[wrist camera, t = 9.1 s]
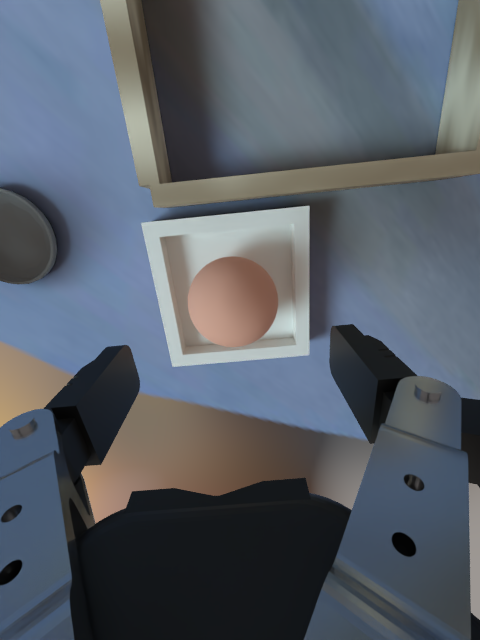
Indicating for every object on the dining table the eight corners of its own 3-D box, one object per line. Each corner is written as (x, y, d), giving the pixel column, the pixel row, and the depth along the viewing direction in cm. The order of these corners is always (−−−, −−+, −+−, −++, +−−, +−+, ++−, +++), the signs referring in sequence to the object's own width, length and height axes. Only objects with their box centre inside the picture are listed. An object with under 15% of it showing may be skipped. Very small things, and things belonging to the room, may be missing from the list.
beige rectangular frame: (102, -90, 14) (62, -181, 11) (505, -145, 13) (590, -259, 10) (159, 208, 19) (143, 208, 16) (448, 178, 19) (492, 172, 16)
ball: (188, 254, 20) (170, 271, 14) (270, 246, 20) (283, 260, 14) (201, 328, 22) (188, 368, 16) (274, 322, 22) (286, 360, 16)
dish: (151, 221, 20) (141, 222, 18) (302, 206, 19) (309, 205, 17) (178, 353, 24) (172, 366, 22) (303, 342, 24) (309, 355, 21)
